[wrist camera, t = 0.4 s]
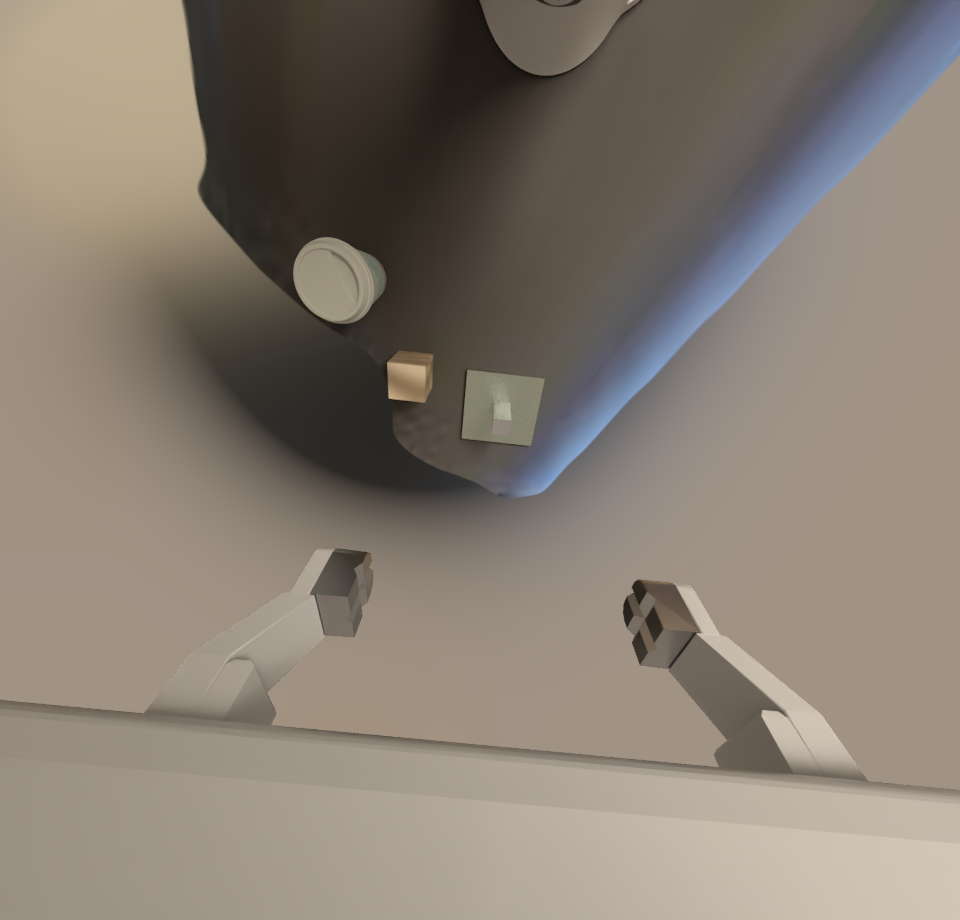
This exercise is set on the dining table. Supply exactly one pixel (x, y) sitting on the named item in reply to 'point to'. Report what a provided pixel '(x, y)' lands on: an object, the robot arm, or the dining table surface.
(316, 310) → the coffee cup
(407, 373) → the wood grain block
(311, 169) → the dining table surface
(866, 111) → the dining table surface
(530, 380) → the post
